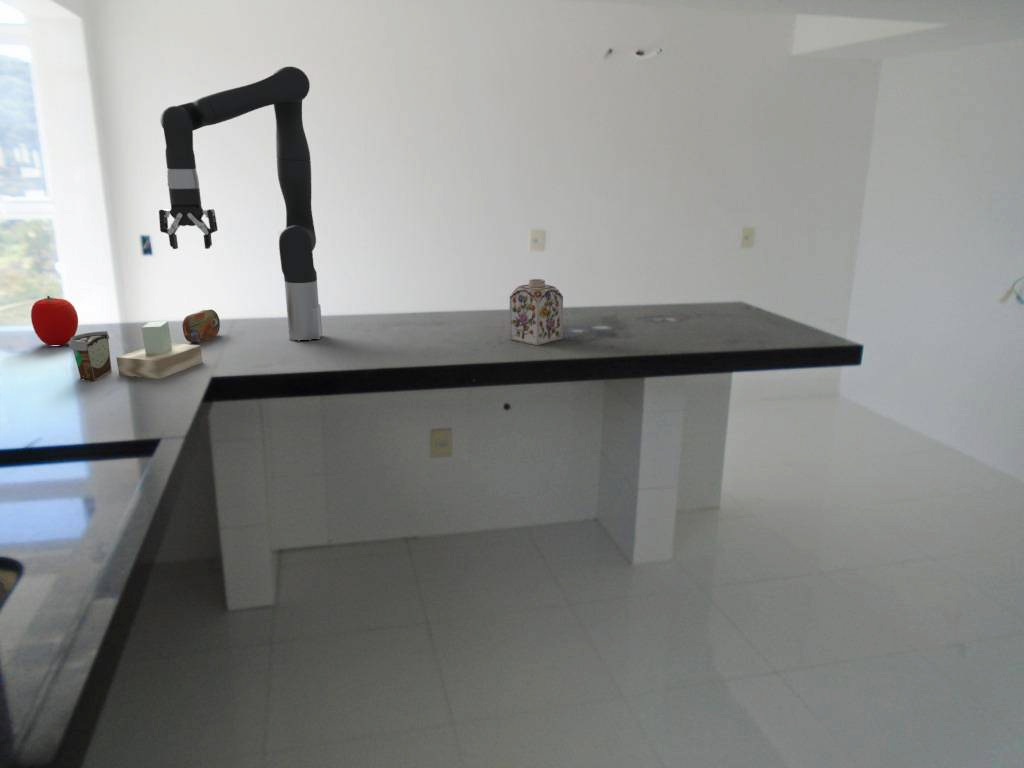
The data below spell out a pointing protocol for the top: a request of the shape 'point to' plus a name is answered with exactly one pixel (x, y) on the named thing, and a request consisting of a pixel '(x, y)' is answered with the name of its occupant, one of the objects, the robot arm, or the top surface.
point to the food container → (92, 354)
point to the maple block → (159, 361)
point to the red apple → (54, 320)
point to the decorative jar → (536, 313)
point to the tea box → (156, 337)
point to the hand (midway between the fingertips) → (191, 248)
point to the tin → (201, 326)
